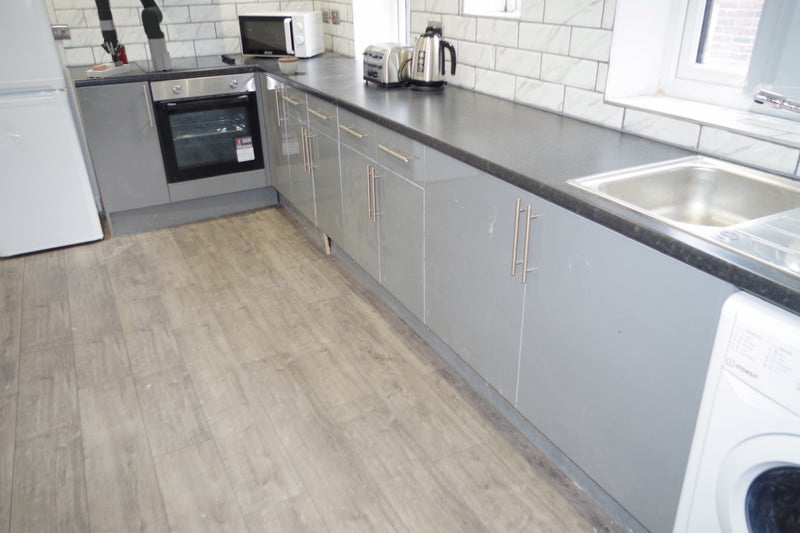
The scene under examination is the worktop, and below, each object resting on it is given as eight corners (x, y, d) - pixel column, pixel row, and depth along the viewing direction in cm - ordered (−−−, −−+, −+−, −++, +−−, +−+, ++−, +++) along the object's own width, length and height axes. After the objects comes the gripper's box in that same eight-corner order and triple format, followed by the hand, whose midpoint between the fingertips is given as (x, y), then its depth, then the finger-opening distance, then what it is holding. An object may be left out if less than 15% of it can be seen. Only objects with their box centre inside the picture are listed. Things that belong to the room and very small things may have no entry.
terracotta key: (107, 72, 330) (106, 65, 328) (101, 74, 325) (99, 66, 324) (100, 72, 331) (98, 64, 329) (93, 74, 327) (91, 66, 325)
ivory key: (116, 70, 336) (114, 63, 334) (110, 72, 331) (108, 64, 330) (108, 70, 337) (106, 63, 335) (102, 71, 333) (100, 64, 331)
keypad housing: (131, 70, 344) (130, 64, 343) (103, 78, 323) (101, 71, 322) (116, 70, 346) (114, 64, 345) (87, 77, 326) (85, 71, 324)
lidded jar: (275, 74, 323) (273, 56, 319) (287, 71, 331) (286, 53, 327) (291, 75, 318) (289, 57, 314) (303, 72, 327) (301, 54, 322)
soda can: (120, 67, 356) (115, 46, 351) (113, 66, 360) (108, 45, 355) (131, 65, 361) (126, 44, 356) (124, 64, 365) (120, 44, 360)
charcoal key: (124, 68, 342) (122, 61, 340) (118, 69, 337) (116, 62, 336) (116, 68, 343) (114, 60, 341) (110, 69, 339) (109, 62, 337)
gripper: (123, 28, 332) (129, 60, 340) (102, 28, 335) (109, 60, 343) (114, 29, 326) (121, 63, 334) (93, 29, 329) (101, 62, 337)
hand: (115, 61), depth 338 cm, fingers closed
